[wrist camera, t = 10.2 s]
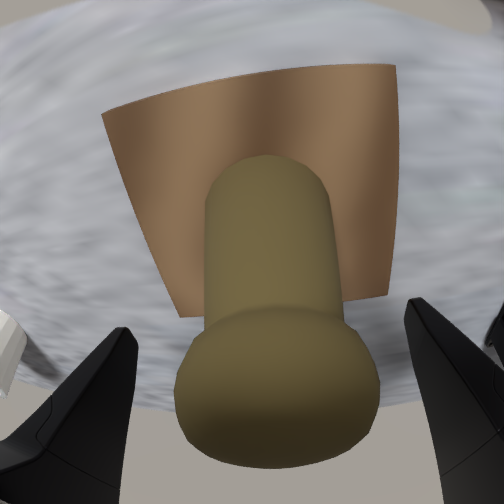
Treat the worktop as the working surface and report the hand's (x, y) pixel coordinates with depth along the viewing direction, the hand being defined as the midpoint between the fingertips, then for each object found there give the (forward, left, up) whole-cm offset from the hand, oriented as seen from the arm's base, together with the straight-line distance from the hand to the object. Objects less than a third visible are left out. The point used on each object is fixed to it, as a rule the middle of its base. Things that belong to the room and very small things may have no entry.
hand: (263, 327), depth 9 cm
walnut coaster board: (0, 0, -8) cm, 8 cm away
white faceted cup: (+28, +9, -8) cm, 30 cm away
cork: (0, 0, -7) cm, 7 cm away
